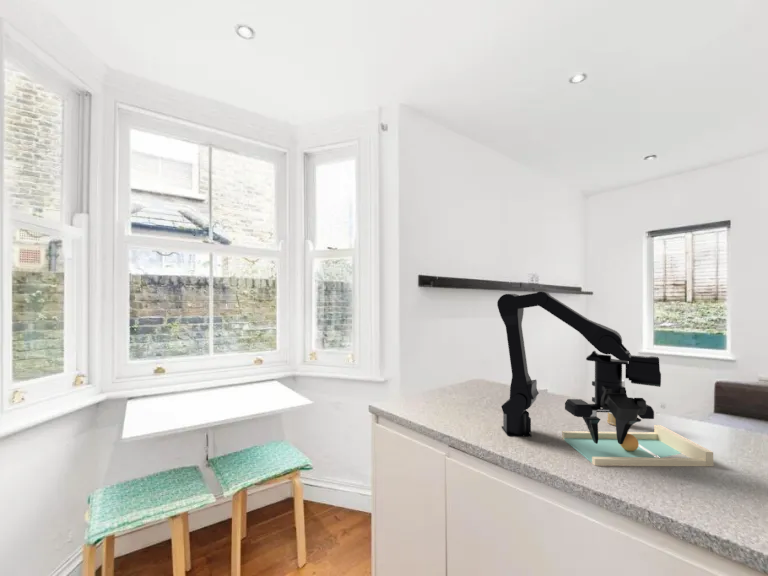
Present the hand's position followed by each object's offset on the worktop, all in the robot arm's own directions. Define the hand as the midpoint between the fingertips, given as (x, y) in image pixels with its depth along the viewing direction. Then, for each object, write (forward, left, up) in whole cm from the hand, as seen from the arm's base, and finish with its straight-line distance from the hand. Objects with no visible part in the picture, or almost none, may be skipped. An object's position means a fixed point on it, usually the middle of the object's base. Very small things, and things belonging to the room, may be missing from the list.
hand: (607, 443), depth 87 cm
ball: (+5, 0, 0) cm, 5 cm away
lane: (+6, 0, -2) cm, 6 cm away
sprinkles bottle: (+14, +19, -3) cm, 24 cm away
